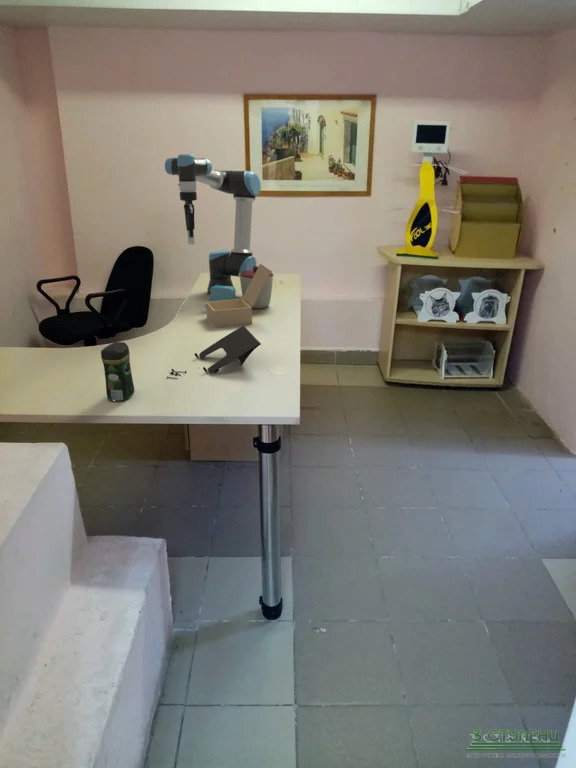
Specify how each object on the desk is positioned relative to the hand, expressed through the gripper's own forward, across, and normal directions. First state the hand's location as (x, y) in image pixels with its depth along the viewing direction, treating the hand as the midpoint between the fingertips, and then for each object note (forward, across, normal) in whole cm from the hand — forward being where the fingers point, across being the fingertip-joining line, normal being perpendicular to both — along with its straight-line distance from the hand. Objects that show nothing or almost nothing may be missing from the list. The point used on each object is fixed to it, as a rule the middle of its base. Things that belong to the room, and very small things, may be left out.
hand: (191, 244), depth 266 cm
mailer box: (+34, +15, +13) cm, 40 cm away
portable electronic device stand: (+35, +67, -2) cm, 76 cm away
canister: (+35, -5, +33) cm, 48 cm away
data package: (+35, -4, +15) cm, 38 cm away
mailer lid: (+18, +15, +27) cm, 36 cm away
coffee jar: (+35, +86, -43) cm, 102 cm away
